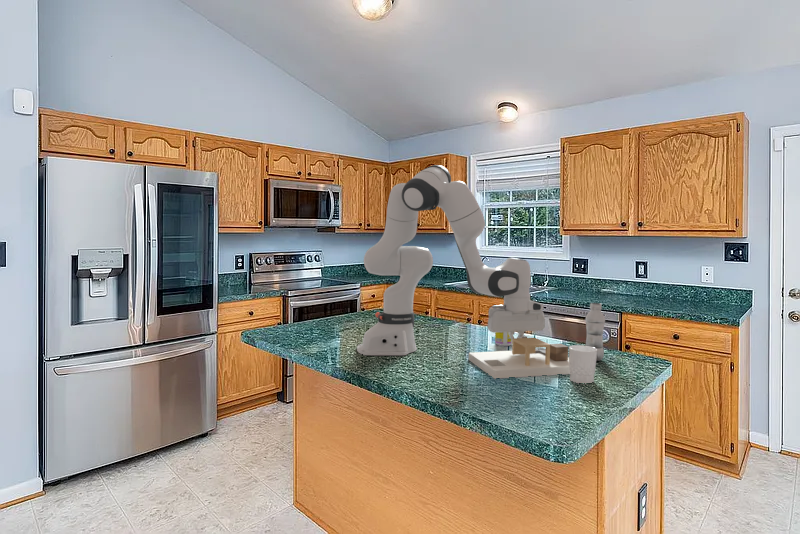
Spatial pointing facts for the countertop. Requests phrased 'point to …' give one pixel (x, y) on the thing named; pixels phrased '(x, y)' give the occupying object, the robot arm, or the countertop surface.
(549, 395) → the countertop surface
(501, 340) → the supplement bottle
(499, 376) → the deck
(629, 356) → the countertop surface
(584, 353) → the white cup
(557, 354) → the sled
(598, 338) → the plastic bottle
